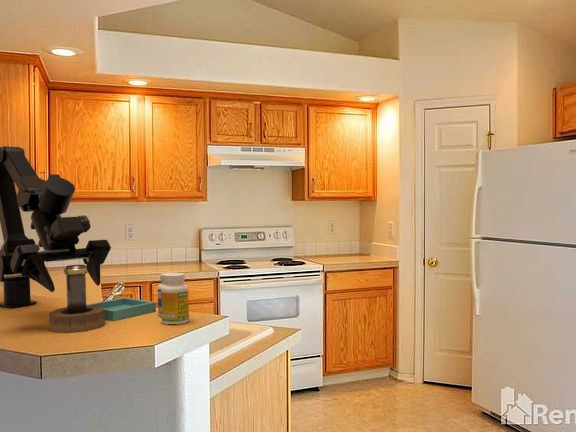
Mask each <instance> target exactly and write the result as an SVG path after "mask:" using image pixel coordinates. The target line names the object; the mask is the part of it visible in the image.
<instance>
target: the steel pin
mask: <svg viewBox="0 0 576 432" xmlns="http://www.w3.org/2000/svg"><path fill="white" fill-rule="evenodd" d="M63 270H64V271H63V274H64V275H65V277H66V279H65V280H66V307H67V312H68V314H81V313H86V312H87V310H86V305H87V284H86V283H87V281H86V278H87V277H86V274H88V271H87V267H86V264H70V265H69V264H68V265H66V266H65V268H64V269H63Z"/></svg>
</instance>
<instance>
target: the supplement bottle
mask: <svg viewBox="0 0 576 432" xmlns="http://www.w3.org/2000/svg"><path fill="white" fill-rule="evenodd" d="M168 273H169V274H165V275H164V282H166V284H165V285H163V286H162V288H161V306H162V316H161V323H163V324H164V325H168V324H171V325H172V324H176V325H182V324H183V325H184V324H186V323H188V322H189V319H190V309H189V307H190V306H189V303H190V301H189V287H188V285H187V283H184V282H185V273H180V272H174V273H171V272H168Z"/></svg>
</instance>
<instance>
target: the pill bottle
mask: <svg viewBox="0 0 576 432" xmlns="http://www.w3.org/2000/svg"><path fill="white" fill-rule="evenodd" d="M169 273H175V272H174V271H173V272H164V273H160V274H159V276H160V278H159V280H160V282H161V283H160V284H159V285H157V309H158V310H157V311H158V312H157V313H158V315H159V316H160V317H162V306H161V288H162V286H163V285H165V284H166V282H164V275H165V274H169Z"/></svg>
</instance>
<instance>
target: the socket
mask: <svg viewBox="0 0 576 432" xmlns="http://www.w3.org/2000/svg"><path fill="white" fill-rule="evenodd" d="M86 310H87V312H86V313H81V314H68V312H67V306H66V307H61V308H57V309H54V310H51V311H49V313H48V314H49V315H48V316H49V317H48V318H49V321H48V322H49V331H52V332H56V333H77V332H87V331H91V330H95V329H99V328H101V327H103V326H104V325H105V323H106V319H104V308H103V307H100V306H86Z"/></svg>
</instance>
